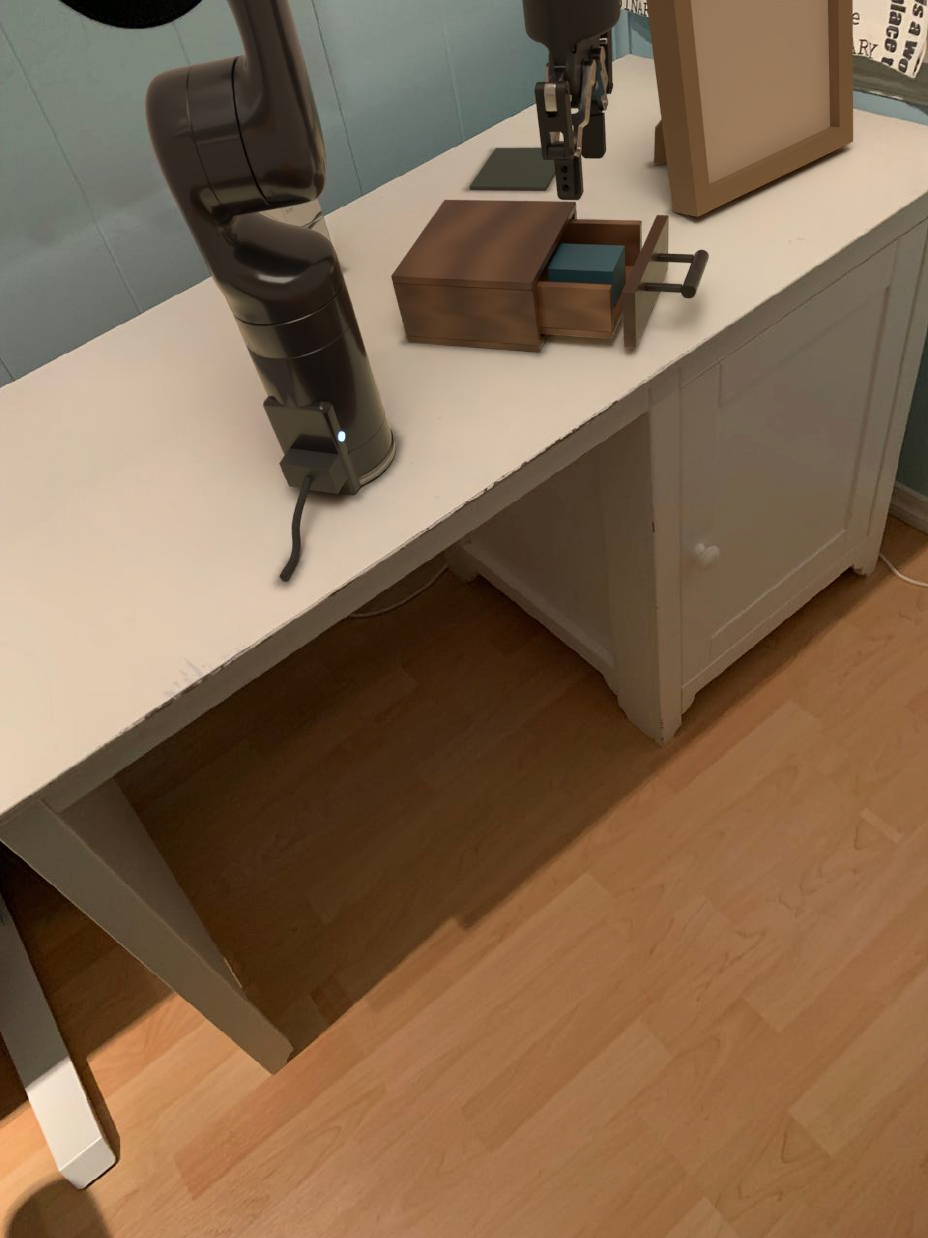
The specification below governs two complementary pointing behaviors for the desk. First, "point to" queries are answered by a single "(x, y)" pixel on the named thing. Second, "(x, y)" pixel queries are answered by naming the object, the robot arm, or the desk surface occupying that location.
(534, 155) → the mat
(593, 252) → the card box
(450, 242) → the cabinet
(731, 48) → the photo frame
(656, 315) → the desk surface
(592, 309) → the drawer
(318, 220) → the ink box
